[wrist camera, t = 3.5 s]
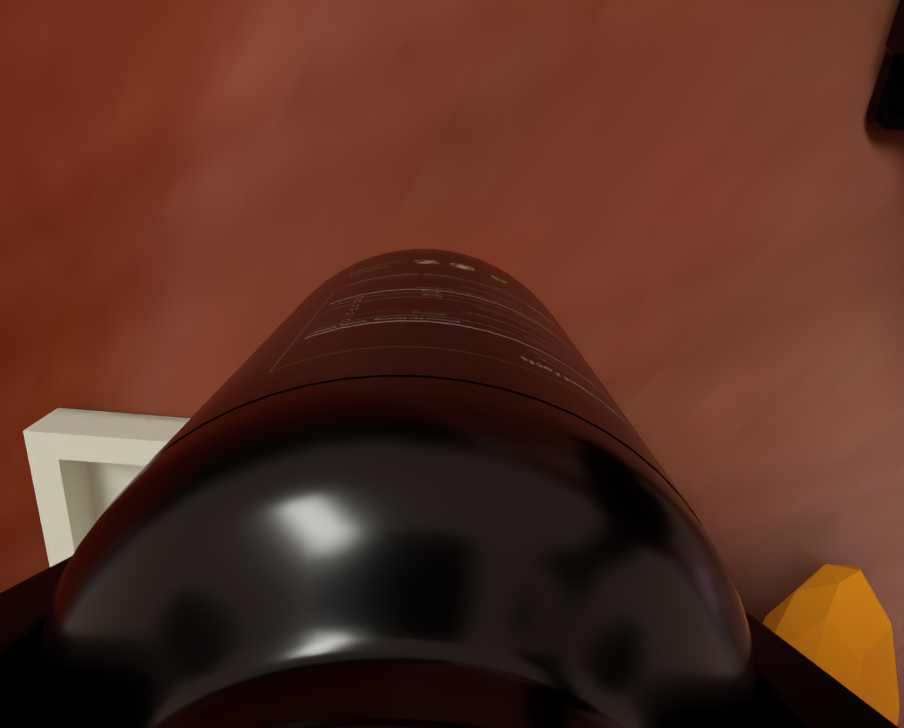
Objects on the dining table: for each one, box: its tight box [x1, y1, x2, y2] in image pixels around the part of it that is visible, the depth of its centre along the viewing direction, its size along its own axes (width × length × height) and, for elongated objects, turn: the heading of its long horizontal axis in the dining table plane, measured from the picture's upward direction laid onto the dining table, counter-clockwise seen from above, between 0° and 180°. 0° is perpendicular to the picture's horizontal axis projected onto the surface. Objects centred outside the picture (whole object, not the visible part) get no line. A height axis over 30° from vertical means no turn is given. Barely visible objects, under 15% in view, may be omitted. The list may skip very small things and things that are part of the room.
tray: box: [23, 408, 191, 567], centre depth 23 cm, size 16×16×2 cm
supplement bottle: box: [30, 249, 757, 728], centre depth 8 cm, size 7×7×12 cm
